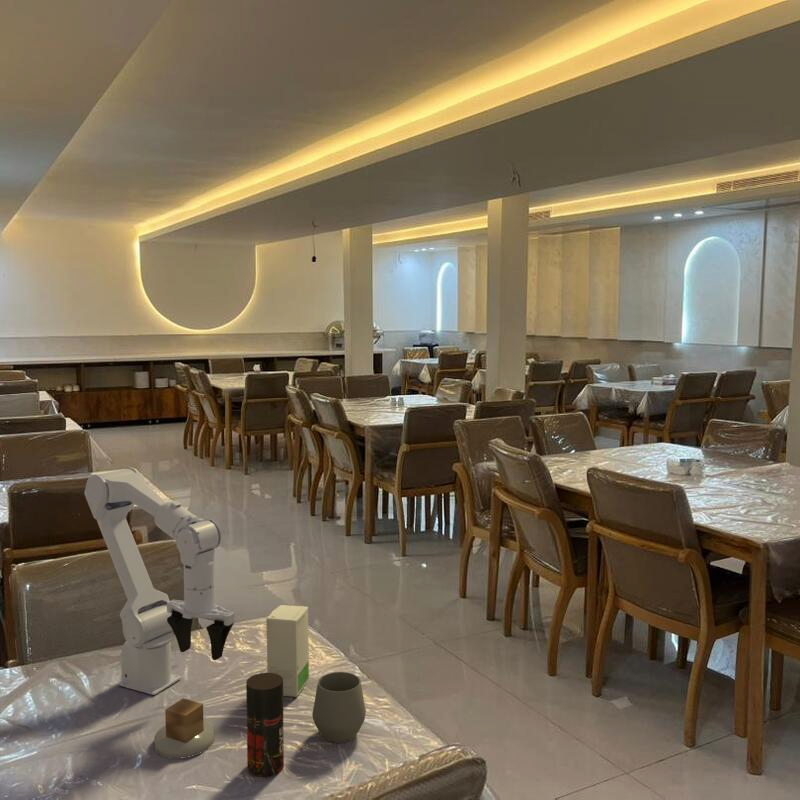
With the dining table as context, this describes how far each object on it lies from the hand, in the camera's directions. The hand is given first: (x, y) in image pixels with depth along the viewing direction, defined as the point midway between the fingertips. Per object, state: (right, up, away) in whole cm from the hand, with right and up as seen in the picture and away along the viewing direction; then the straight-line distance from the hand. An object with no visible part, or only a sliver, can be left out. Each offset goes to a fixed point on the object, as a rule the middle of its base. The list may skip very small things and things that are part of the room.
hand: (201, 654), depth 149 cm
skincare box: (+15, -9, +8) cm, 20 cm away
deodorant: (+16, -13, -19) cm, 28 cm away
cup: (+27, -12, -9) cm, 31 cm away
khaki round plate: (0, -12, -12) cm, 17 cm away
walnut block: (0, -10, -12) cm, 16 cm away
